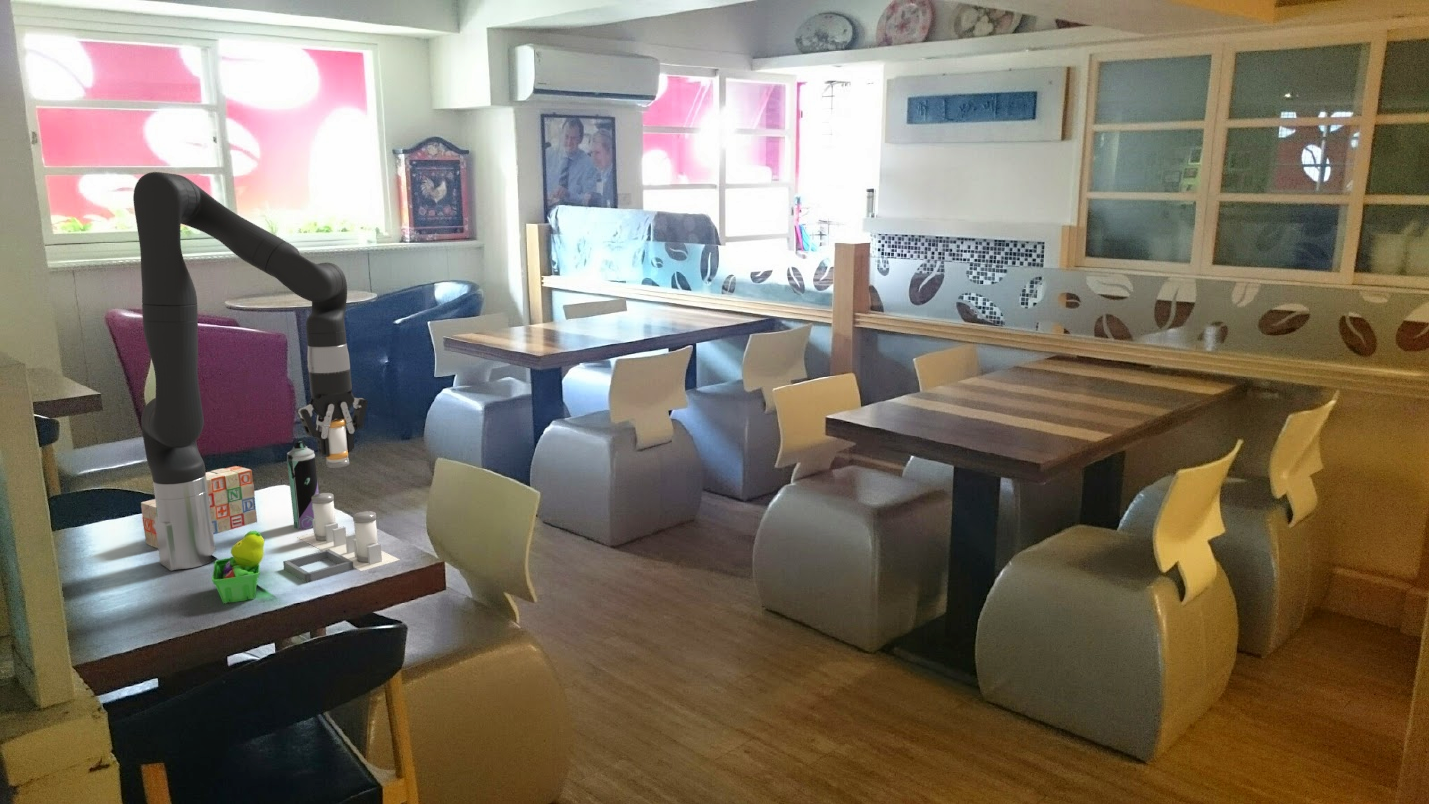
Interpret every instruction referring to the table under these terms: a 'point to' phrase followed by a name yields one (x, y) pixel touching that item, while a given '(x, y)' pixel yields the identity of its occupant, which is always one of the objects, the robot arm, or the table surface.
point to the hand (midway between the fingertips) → (337, 453)
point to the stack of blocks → (216, 502)
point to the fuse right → (364, 533)
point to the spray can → (302, 484)
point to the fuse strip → (348, 547)
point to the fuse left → (323, 513)
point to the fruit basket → (240, 569)
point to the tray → (341, 567)
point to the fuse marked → (337, 444)
